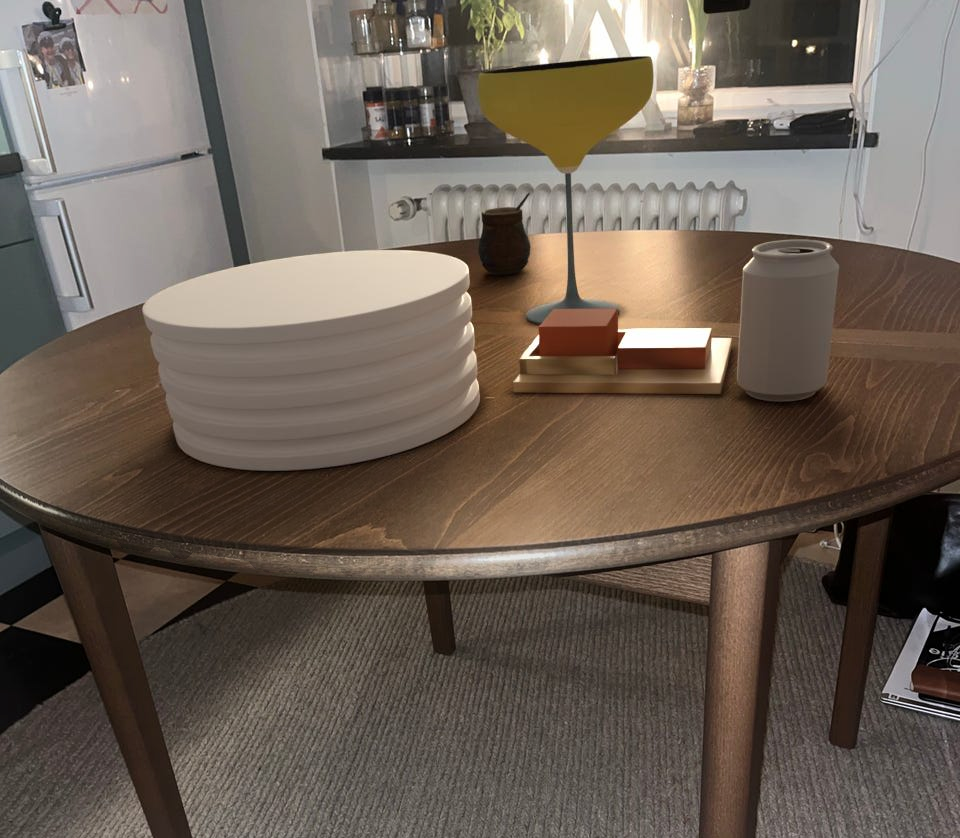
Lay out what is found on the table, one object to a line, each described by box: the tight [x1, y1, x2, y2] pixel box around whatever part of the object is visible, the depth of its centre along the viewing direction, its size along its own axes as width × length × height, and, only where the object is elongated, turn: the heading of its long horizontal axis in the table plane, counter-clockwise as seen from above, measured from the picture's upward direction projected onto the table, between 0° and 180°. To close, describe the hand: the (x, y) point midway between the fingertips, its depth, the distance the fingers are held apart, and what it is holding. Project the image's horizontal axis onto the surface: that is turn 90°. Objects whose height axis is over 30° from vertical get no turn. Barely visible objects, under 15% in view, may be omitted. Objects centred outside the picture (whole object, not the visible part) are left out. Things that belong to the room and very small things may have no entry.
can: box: [736, 239, 840, 403], centre depth 81 cm, size 8×8×12 cm
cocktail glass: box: [477, 55, 655, 325], centre depth 106 cm, size 18×18×25 cm
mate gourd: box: [477, 192, 531, 276], centre depth 133 cm, size 7×8×10 cm
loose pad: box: [538, 308, 619, 356], centre depth 93 cm, size 6×6×4 cm
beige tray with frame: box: [512, 327, 733, 395], centre depth 93 cm, size 19×14×3 cm
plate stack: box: [141, 249, 481, 472], centre depth 87 cm, size 28×28×12 cm
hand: (727, 11), depth 84 cm, fingers open, 9 cm apart
